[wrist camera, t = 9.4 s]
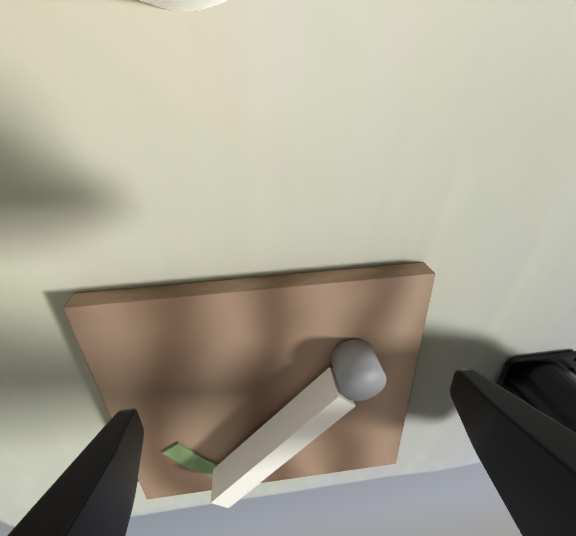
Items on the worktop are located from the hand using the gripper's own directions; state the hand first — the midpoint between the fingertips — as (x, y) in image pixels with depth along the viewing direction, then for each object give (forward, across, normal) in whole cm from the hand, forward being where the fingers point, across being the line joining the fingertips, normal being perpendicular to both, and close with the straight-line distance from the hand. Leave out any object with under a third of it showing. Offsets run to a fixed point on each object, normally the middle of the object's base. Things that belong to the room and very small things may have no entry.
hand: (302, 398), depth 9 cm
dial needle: (+10, 0, +14) cm, 17 cm away
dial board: (+12, +1, +13) cm, 18 cm away
